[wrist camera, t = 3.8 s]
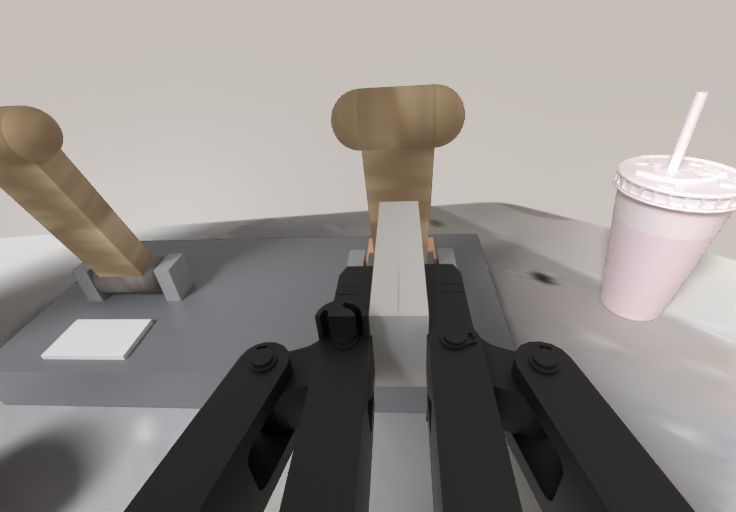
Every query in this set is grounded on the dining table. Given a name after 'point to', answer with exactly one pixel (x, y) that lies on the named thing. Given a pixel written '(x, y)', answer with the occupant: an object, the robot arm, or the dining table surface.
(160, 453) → the dining table surface
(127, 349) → the switch unit
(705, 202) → the smoothie
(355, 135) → the lever
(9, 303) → the dining table surface
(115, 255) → the lever
